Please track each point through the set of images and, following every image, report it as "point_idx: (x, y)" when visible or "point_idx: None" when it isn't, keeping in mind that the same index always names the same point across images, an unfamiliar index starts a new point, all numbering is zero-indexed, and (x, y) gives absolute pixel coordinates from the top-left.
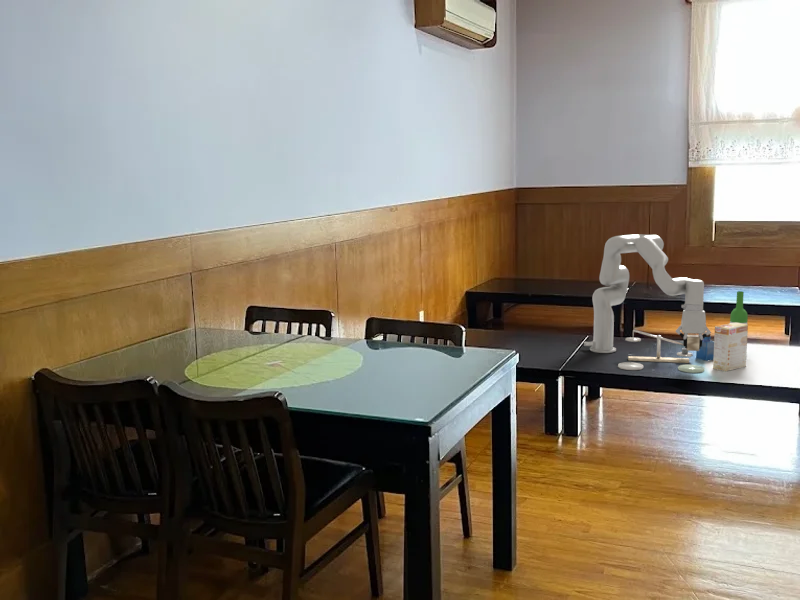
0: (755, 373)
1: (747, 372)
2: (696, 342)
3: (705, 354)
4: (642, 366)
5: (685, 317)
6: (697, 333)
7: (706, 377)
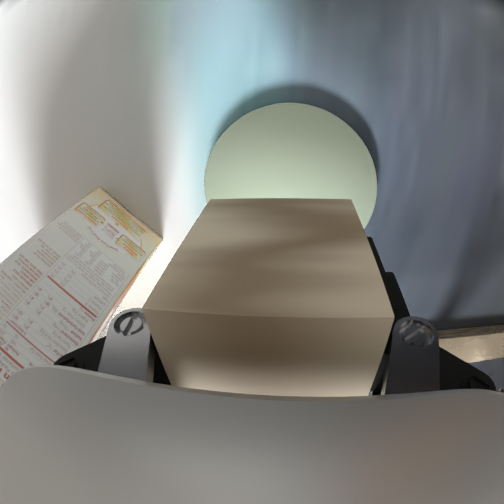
0: (8, 188)
1: (29, 196)
2: (221, 252)
3: None
4: None
5: None
6: (152, 384)
7: (201, 5)
